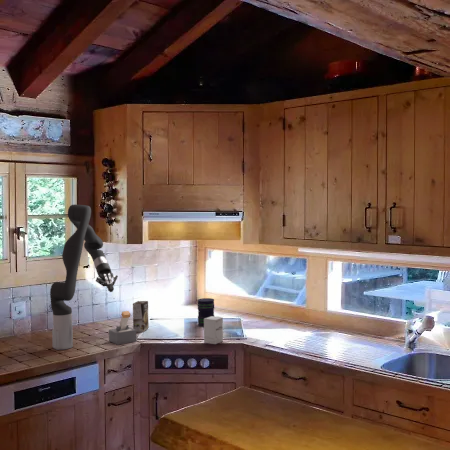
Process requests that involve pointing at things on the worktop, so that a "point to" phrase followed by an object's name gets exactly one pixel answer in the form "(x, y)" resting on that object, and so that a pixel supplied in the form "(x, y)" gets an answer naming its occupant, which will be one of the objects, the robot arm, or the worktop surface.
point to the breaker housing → (122, 335)
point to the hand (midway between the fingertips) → (111, 291)
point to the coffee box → (140, 316)
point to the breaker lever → (124, 319)
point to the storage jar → (205, 310)
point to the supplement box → (213, 330)
